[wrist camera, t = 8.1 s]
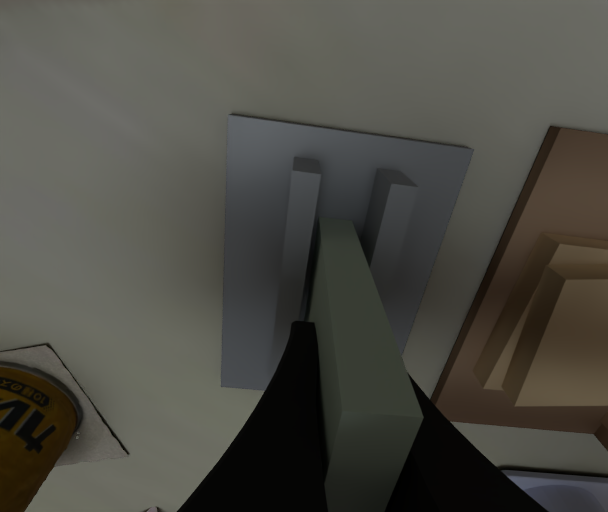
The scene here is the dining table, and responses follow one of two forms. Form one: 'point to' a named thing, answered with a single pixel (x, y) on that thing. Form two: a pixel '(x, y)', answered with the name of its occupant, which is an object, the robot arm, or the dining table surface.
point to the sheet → (357, 377)
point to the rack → (507, 268)
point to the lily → (152, 509)
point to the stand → (304, 220)
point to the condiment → (43, 424)
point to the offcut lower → (531, 299)
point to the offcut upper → (563, 341)
